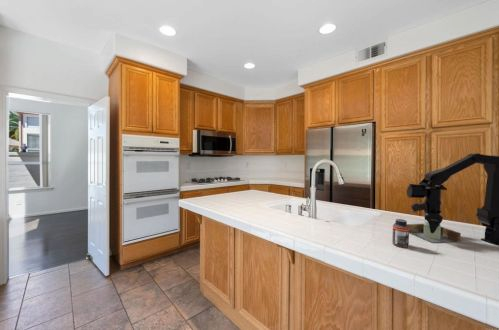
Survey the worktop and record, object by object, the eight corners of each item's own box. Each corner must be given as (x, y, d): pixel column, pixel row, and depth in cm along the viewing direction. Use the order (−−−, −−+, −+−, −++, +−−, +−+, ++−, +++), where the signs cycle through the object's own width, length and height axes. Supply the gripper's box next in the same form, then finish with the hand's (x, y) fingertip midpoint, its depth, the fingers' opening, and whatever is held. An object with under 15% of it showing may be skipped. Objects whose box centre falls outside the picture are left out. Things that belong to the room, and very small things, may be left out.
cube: (423, 233, 111) (424, 221, 110) (439, 235, 107) (439, 223, 107) (423, 236, 106) (424, 224, 106) (440, 239, 102) (440, 226, 102)
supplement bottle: (393, 241, 101) (393, 217, 100) (409, 245, 97) (410, 219, 97) (391, 245, 96) (392, 220, 96) (407, 249, 93) (409, 223, 92)
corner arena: (430, 230, 116) (430, 223, 115) (460, 241, 101) (460, 233, 101) (405, 231, 114) (405, 224, 114) (432, 243, 99) (432, 234, 99)
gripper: (412, 193, 118) (411, 222, 119) (411, 199, 103) (410, 232, 104) (440, 196, 111) (438, 226, 112) (443, 202, 96) (441, 237, 97)
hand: (431, 230), depth 106 cm, fingers open, 9 cm apart
